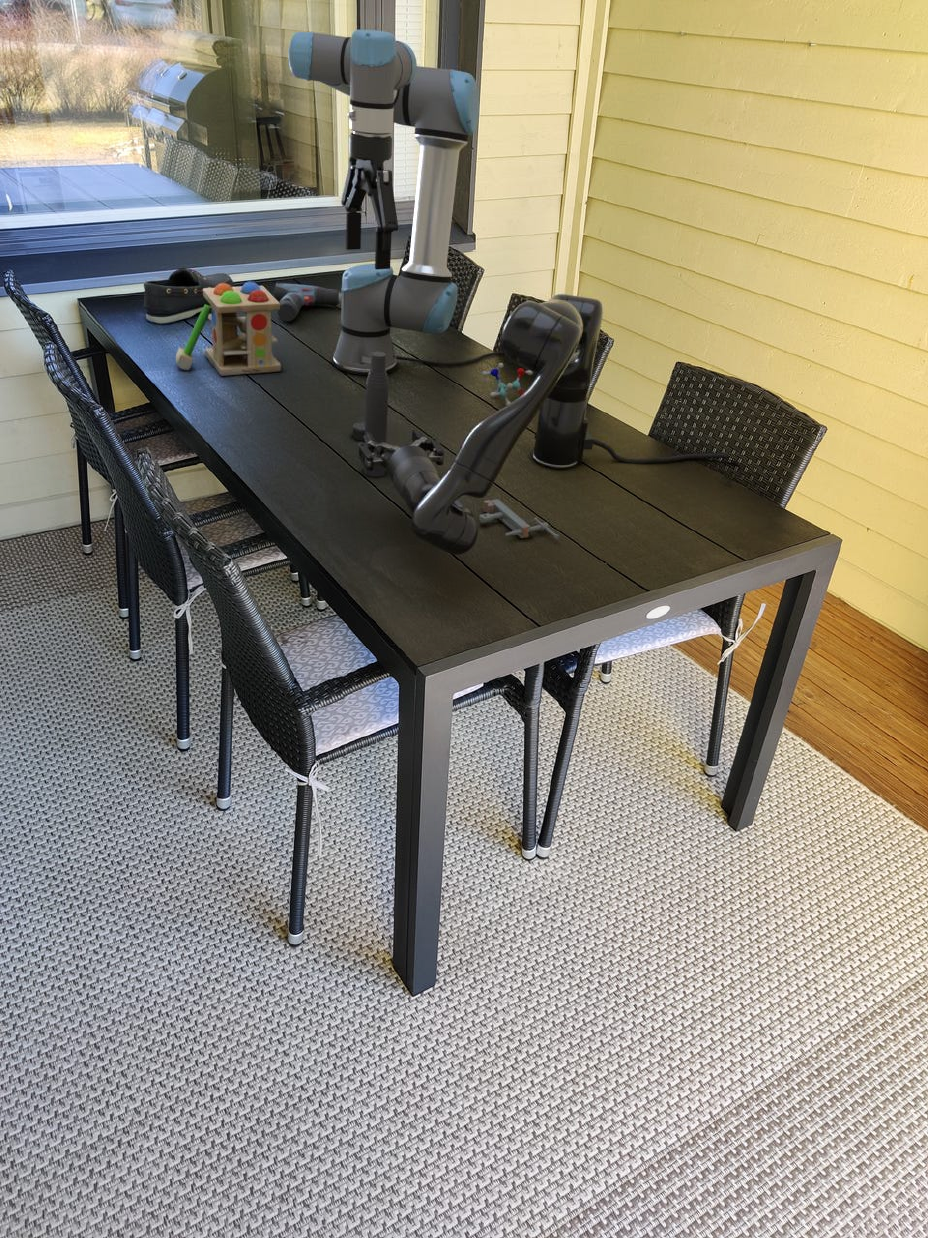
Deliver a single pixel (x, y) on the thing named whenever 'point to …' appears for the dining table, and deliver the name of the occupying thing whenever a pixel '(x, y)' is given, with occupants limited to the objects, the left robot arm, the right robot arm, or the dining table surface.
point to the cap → (359, 431)
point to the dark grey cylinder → (377, 405)
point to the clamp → (511, 519)
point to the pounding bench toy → (229, 347)
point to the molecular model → (502, 386)
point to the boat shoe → (179, 295)
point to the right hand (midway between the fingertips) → (390, 435)
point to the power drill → (302, 298)
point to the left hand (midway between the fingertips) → (367, 258)
